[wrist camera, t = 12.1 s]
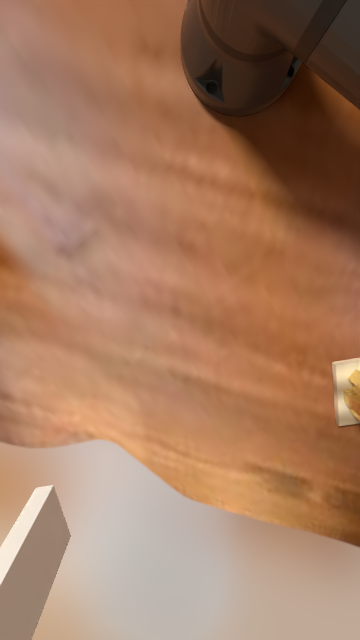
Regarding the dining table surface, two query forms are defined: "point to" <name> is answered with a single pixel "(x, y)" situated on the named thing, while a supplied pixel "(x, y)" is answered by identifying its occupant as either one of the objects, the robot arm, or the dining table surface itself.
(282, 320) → the dining table surface
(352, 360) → the gear board
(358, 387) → the brass gear
